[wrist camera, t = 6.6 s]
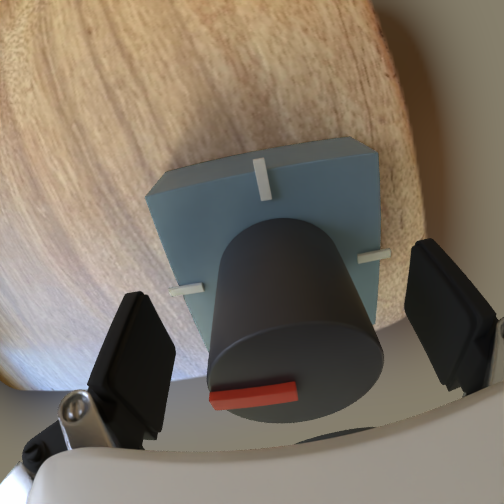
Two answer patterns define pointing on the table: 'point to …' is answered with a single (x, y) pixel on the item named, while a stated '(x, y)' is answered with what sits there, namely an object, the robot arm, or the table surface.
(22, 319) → the table surface
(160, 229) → the panel
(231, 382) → the dial
